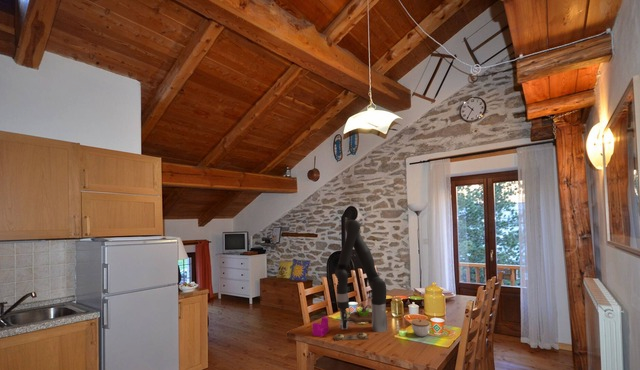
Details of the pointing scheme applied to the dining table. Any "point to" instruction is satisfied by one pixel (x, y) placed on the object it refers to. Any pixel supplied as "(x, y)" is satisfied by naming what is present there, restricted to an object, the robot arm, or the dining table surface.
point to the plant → (361, 315)
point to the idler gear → (342, 324)
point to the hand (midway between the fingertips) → (344, 326)
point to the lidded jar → (420, 327)
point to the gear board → (351, 337)
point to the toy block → (321, 327)
